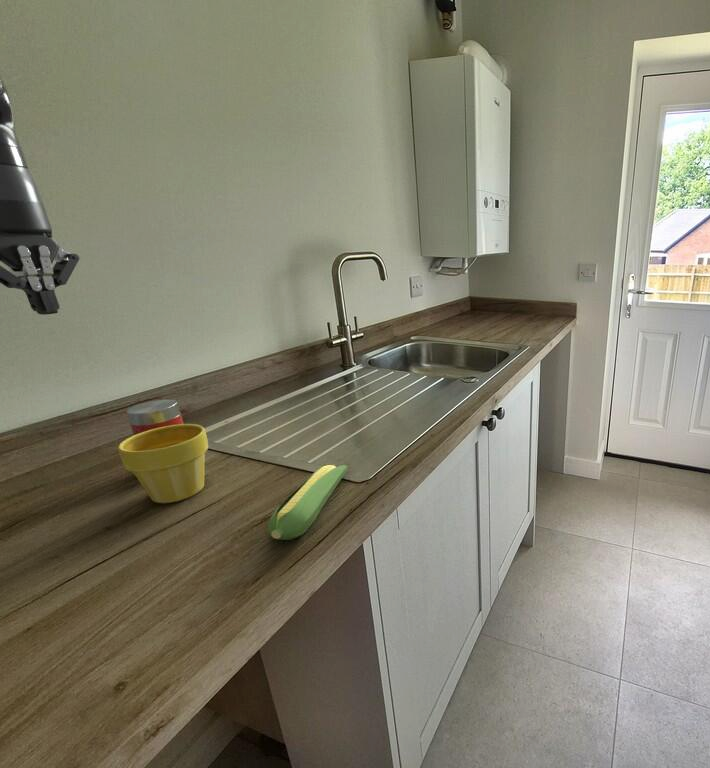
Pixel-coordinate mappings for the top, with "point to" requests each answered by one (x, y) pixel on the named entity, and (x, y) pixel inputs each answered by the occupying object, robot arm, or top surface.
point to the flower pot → (167, 461)
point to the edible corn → (305, 503)
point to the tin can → (154, 415)
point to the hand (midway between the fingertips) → (47, 313)
